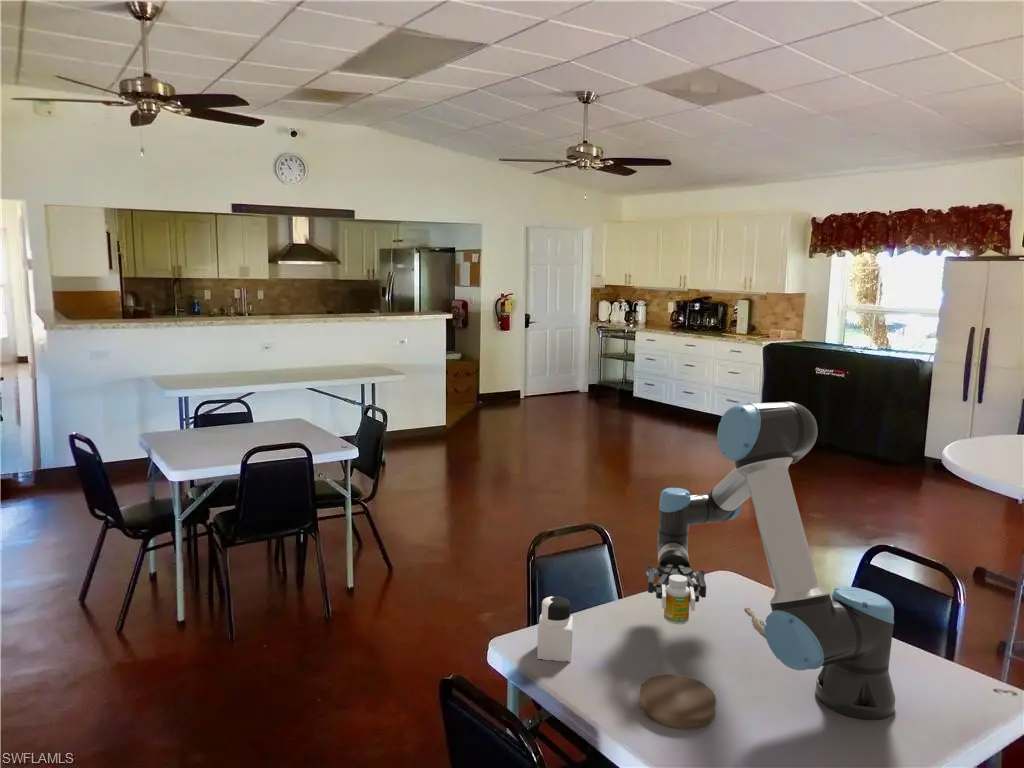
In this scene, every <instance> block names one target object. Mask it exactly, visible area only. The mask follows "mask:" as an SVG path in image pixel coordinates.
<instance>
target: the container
mask: <svg viewBox="0 0 1024 768" xmlns="http://www.w3.org/2000/svg"><path fill="white" fill-rule="evenodd" d="M573 623H574V617H573V615H571V601H570V600H569V599H568V598H566V597H563V596H559V595H551V596H548V597H545V598H543V599H542V601H541V614H540V615H539V619H538V626H537V648H536V649H537V652H536V655H537V660H538V659H543V660H542V661H551V660H554V662H566V661H568V663H570V662H572V658H573V657H572V653H573V652H572V651H573V627H574V624H573Z"/></svg>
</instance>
